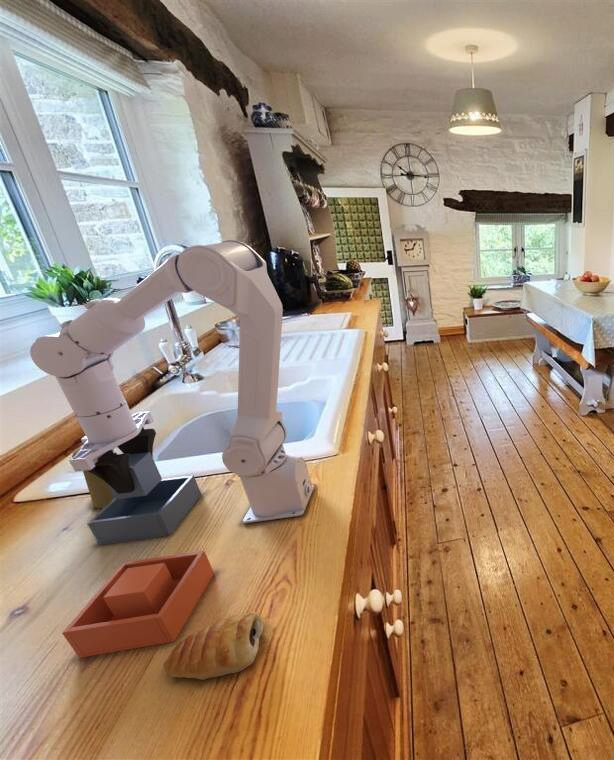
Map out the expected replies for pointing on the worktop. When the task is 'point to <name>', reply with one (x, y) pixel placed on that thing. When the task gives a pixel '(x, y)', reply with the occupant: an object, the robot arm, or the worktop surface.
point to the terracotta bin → (106, 634)
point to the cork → (97, 488)
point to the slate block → (141, 475)
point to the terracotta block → (140, 591)
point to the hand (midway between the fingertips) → (136, 481)
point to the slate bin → (146, 512)
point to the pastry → (217, 648)
